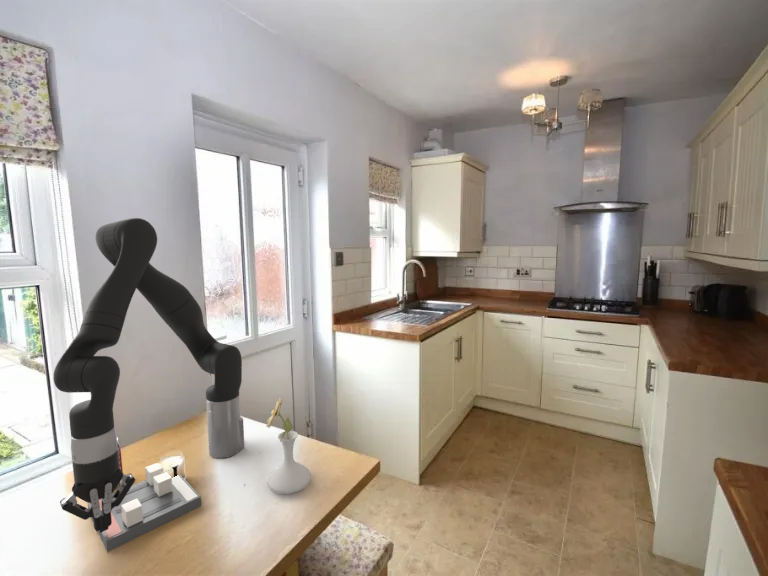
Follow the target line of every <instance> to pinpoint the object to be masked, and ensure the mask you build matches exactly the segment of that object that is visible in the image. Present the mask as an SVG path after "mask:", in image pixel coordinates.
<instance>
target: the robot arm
mask: <svg viewBox="0 0 768 576" xmlns="http://www.w3.org/2000/svg"><path fill="white" fill-rule="evenodd" d="M95 243H96V246H97V247H98V250H99V252H100V253H101V254H102V255H103V256H104V258H105V259H107V261H109V263H111V265H112V266H113V269H112V270H111V272H110V274H109V275H108V277H106V280H105V281H104V282H103V283H102V285H101V286H100V287H99V288H98V290H96V292H95V294H94V295H93V297H91V300H90V301H89V303H88V306H87V307H86V311H85V313H84V316H83V320H82V322H81V325H80V328H79V330H78V333H77V335H76V336H75V337H74V339H73V340H72V341H71V342H70V344H69V346H68V347H67V349H66V350H65V351H64V353H63V354H62V355H61V356H60V357H59V360H58V361H57V363H56V365H55V368H54V370H53V384H54V385H55V387H56V389H58V391H60V392H63V393H90V394H91V397H90V399H89V400H88V399H87V400H84V401H82V402H78V403H77V404H75V405H73V407H71V408H70V411H69V412H68V415H69V418H68V419H69V428H70V430H69V431H70V436H71V437H70V439H71V440H70V452H71V461H72V472H73V482H74V484H73V486H72V487H71V492H70V493H69V495H68V496H67V497H64V498H61V500H60V502H59V503H60V507H61V509H62V510H63V511H65V512H67V513H69V514H72V515H73V516H75V517H78V518H80V519H82V520H89V519H91V517H92V518H93V521H92V522H93V528H94V530H95V531H96V532H97V531H99V532H100V533H101V532H103V531H105V530H108V529H109V528H108V526H110V525H111V523H112V520H111V510H112V509H113V508H114V507H115V506H119V505H120V504H121V502H122V500H123V499H124V497H125V496H126V494H127V493H128V491H129V489H130V488H131V486H132V485H134V483H135V481H136V478H135V477H134V476H133V473H130V472H128V473H127V474H126V473H124V472H122V470H123V469H122V470H121V469H120V466H119V455H118V441H119V440H118V441H117V438H118V435H117V431H116V428H115V419H114V411H113V410H114V403H115V399H116V393H117V388H118V384H119V381H120V376H121V369H120V366H119V363H118V362H117V360H115V358H113V357H111V356H108V355H96V353H97V352H99V351H101V350H103V349H108V348H111V347H114V346H115V345H117V344H118V342H119V340H120V337H121V334H122V331H123V326H124V323H125V321H126V317H127V313H128V311H129V310H128V309H129V307H130V304H131V302H132V298H133V297H134V294H135V292H136V290H137V291H139V293H140V294H141V295H142V296H143V297H144V299H145V300H146V301H147V302H148V303H149V304H150V305H151V307H152V308H153V310H154V311H156V314H158V315H159V317H160V318H161V319H162V321H163V322H164V323H165V324H166V325H167V326H168V327H169V329H171V331H173V333H174V334H175V335H176V336H177V337H178V338H179V340H180V341H182V343H183V344H184V346H186V348H187V349H188V350H189V352H190V354H191V355H192V356H193V358H194V360H195V361H196V363H197V365H198V367H200V369H201V370H202V371H204V372H205V373H208V374H211V375H214V383H213V384H211V385H210V386H208V387H207V389H206V390H205V403H206V417H207V419H206V420H207V438H208V454H209V455H210V457H212V458H213V459H214V458H216V459H224V458H229V457H231V456H234V455H236V454H238V453H239V452H240V451H241V450H242V449H245V436H244V435H245V431H244V430H245V429H244V427H245V426H244V418H243V417H242V416H241V406H240V405H241V403H240V402H241V401H240V389H241V385H242V382H243V381H242V380H243V379H242V376H243V375H242V374H243V373H242V372H243V371H242V370H243V369H242V367H243V366H242V365H243V364H242V363H243V361H242V359H243V357H242V353H241V351H240V349H239V348H238V347H237V346H235V345H233V344H227V343H223V342H219V341H218V340H216V339H215V338H214V337H213V336H212V334H211V333H210V332H209V331H208V329H207V328H206V326H205V323H204V315H203V311H202V308H201V306H200V305H199V303H198V301H197V300H196V299H195V297H194V295H193V294H192V293H191V292H190V290H189V289H188V288H187V287H185V286H184V285H183V284H182V283H180V282H179V281H177V280H175V279H174V278H172V277H170V276H169V275H167V274H165V273H163V272H162V271H160V270H158V269H157V268H155V267H154V266H153V265H152V263H150V261H151V260H152V258H153V256H154V253H155V251H156V249H157V244H158V235H157V232H156V229H155V228H154V226H153V225H152V224H151V223H150V222H149V221H147V220H146V219H143V218H138V217H133V218H131V217H130V218H127V219H122V220H118V221H115V222H114V221H113V222H109V223H106V224H104V225H101V226H100V227H98V228H97V230H96V232H95ZM119 482H120V485H119V486H117V485H118V484H119ZM116 488H117V489H116ZM114 492H115V493H114ZM112 493H114V495H113V497H112ZM77 498H79V499H80V500H81V501H84V502H86V503H87V504H88V503H90V507H91V508H88V507H85V506H83V505H81V504H80V503H78V500H77ZM100 499H101V508H102V510H100V503H99V500H100Z"/></svg>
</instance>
